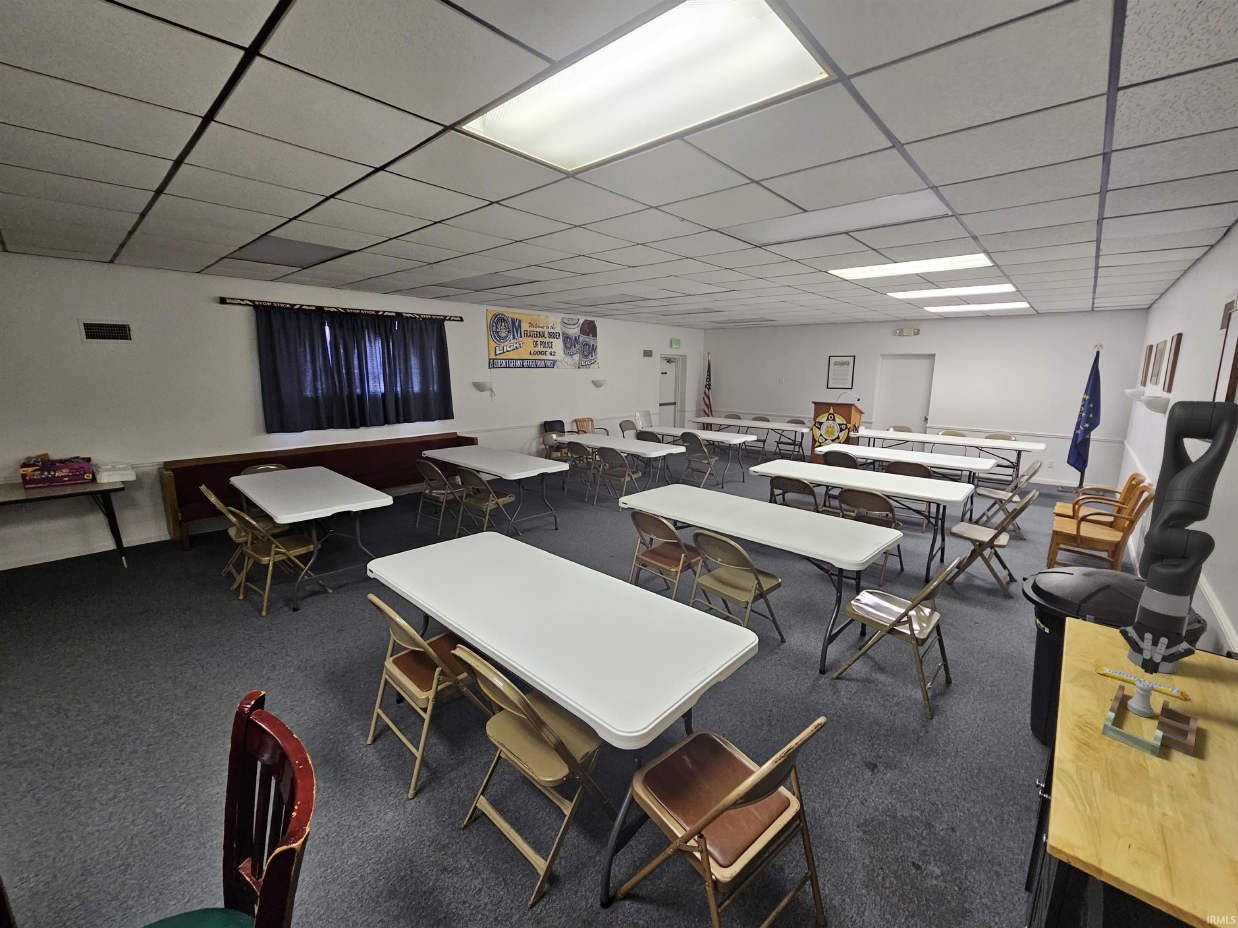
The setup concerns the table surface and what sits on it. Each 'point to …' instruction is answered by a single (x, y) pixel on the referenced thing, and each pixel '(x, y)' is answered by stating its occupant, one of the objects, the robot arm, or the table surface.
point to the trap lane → (1174, 726)
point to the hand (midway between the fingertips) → (1148, 672)
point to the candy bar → (1132, 680)
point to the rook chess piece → (1141, 699)
